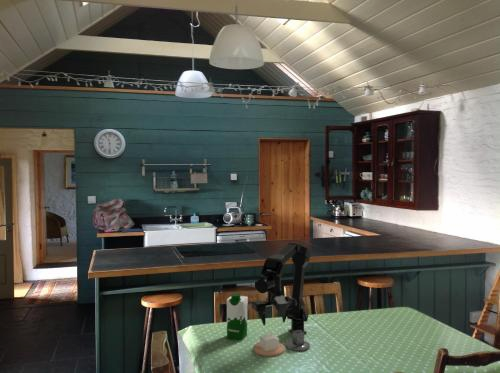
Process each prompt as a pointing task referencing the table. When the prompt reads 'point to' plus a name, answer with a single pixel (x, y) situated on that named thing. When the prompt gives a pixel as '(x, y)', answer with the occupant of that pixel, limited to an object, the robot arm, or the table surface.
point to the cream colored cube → (269, 342)
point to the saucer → (270, 353)
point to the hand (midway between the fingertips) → (274, 323)
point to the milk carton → (237, 317)
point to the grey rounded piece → (298, 342)
